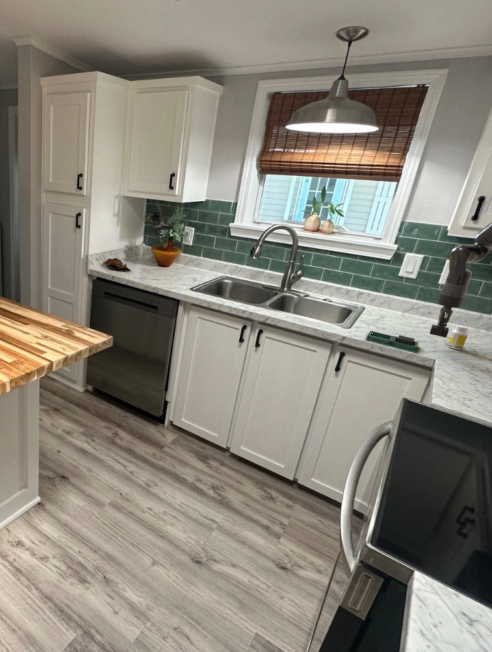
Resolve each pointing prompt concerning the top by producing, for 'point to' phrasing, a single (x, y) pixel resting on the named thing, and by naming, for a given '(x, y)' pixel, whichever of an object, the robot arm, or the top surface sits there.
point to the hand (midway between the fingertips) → (438, 333)
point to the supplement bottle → (458, 337)
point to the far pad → (434, 328)
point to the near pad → (405, 340)
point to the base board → (390, 341)
